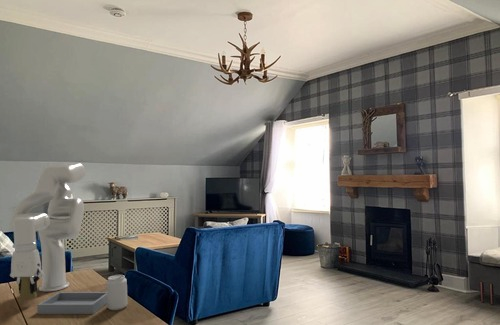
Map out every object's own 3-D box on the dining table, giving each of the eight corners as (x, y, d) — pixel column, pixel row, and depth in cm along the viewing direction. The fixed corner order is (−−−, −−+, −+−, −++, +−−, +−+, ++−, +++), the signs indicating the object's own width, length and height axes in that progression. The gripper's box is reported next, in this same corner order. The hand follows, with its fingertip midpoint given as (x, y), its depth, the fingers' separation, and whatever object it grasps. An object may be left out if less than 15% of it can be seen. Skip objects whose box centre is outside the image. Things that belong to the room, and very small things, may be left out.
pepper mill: (19, 301, 149) (17, 274, 148) (20, 296, 154) (18, 270, 154) (36, 298, 152) (35, 271, 151) (37, 293, 157) (35, 267, 157)
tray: (37, 313, 144) (37, 304, 144) (59, 300, 158) (59, 292, 158) (93, 313, 142) (92, 304, 142) (110, 300, 156) (110, 291, 156)
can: (121, 311, 143) (120, 279, 143) (103, 310, 145) (102, 279, 145) (131, 304, 151) (130, 274, 151) (114, 303, 152) (112, 273, 152)
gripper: (-1, 250, 149) (1, 296, 150) (39, 249, 148) (41, 296, 148) (12, 245, 157) (15, 289, 157) (51, 244, 155) (53, 289, 156)
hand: (28, 291), depth 153 cm, fingers closed on pepper mill, 4 cm apart
